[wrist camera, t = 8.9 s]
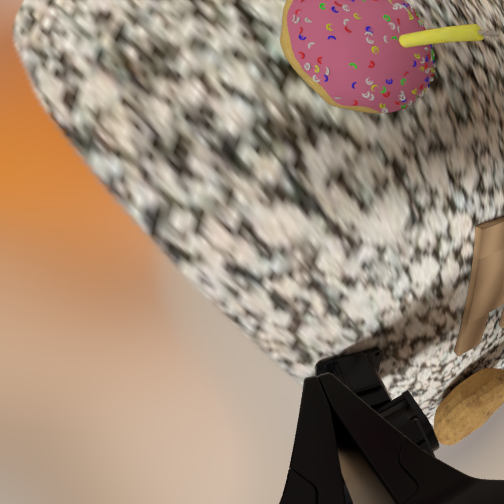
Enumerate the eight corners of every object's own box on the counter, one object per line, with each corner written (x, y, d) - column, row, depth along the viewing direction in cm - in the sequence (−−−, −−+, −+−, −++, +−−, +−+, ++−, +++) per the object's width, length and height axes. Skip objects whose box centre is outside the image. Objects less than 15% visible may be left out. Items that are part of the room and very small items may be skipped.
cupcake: (403, 49, 14) (531, 16, 3) (364, 142, 17) (510, 167, 6) (298, -13, 12) (366, -121, 1) (245, 81, 15) (275, -16, 4)
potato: (490, 371, 31) (514, 401, 23) (425, 422, 33) (444, 458, 25) (494, 340, 27) (524, 373, 20) (418, 400, 29) (442, 443, 22)
